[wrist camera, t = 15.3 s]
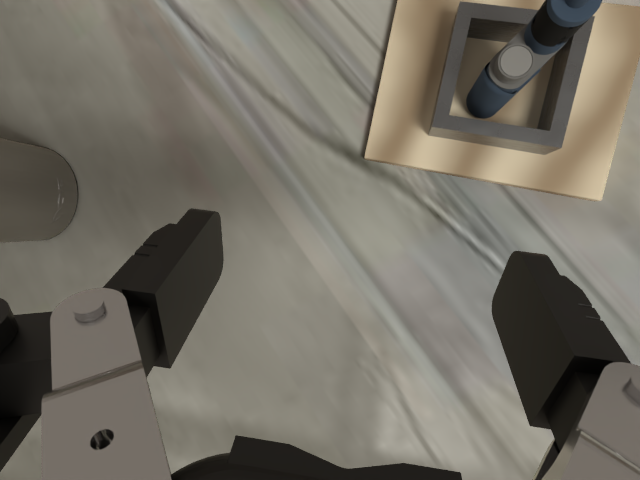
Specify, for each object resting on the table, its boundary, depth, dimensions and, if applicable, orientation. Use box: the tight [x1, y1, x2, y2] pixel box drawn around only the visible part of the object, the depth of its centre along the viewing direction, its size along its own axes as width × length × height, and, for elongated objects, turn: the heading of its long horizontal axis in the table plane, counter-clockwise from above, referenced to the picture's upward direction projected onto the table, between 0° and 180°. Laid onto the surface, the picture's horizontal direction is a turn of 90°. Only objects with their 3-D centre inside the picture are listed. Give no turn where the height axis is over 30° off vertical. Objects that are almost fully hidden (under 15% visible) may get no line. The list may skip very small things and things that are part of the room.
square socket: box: [428, 1, 595, 155], centre depth 29 cm, size 9×9×3 cm
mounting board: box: [364, 0, 640, 201], centre depth 31 cm, size 18×14×1 cm
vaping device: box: [466, 0, 602, 119], centre depth 24 cm, size 3×5×12 cm, turn 133°
